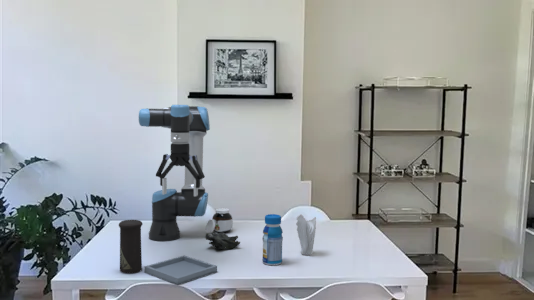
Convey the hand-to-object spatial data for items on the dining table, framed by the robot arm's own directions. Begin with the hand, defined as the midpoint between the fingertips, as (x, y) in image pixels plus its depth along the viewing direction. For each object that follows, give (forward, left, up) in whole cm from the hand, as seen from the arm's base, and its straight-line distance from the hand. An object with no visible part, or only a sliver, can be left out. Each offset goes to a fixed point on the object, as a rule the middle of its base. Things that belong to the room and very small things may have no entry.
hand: (180, 195), depth 213 cm
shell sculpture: (+30, +47, -29) cm, 63 cm away
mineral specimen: (-3, +27, -29) cm, 40 cm away
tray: (+9, -7, -29) cm, 31 cm away
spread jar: (-25, +46, -29) cm, 60 cm away
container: (-7, -19, -29) cm, 35 cm away
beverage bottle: (+27, +27, -29) cm, 48 cm away
